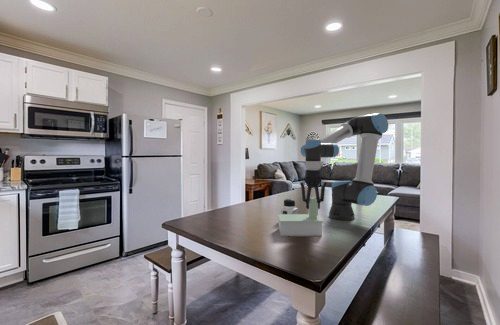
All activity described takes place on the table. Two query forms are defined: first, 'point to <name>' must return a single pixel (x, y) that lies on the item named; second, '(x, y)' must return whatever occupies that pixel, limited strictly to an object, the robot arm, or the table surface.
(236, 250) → the table surface
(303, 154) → the robot arm
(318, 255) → the table surface
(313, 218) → the green base with post
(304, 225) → the tub
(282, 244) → the table surface
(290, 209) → the container
